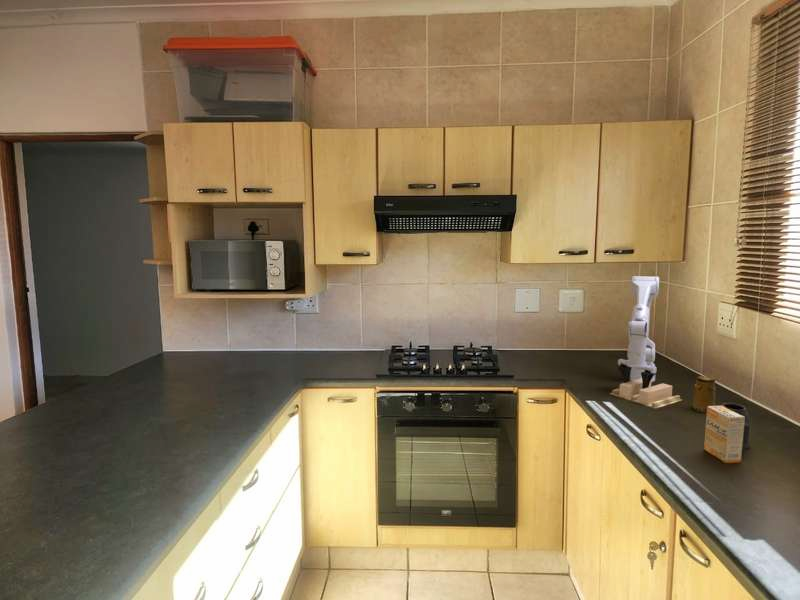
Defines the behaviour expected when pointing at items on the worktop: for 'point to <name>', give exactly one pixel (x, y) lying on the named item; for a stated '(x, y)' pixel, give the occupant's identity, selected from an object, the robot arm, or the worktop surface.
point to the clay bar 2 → (655, 393)
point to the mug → (743, 412)
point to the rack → (654, 404)
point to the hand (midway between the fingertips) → (635, 387)
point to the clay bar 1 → (631, 388)
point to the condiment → (704, 393)
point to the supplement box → (724, 433)
